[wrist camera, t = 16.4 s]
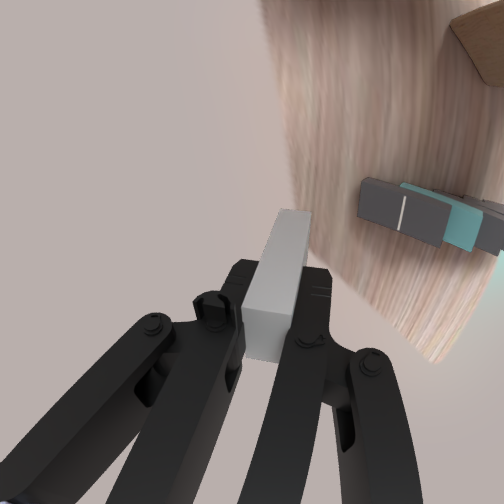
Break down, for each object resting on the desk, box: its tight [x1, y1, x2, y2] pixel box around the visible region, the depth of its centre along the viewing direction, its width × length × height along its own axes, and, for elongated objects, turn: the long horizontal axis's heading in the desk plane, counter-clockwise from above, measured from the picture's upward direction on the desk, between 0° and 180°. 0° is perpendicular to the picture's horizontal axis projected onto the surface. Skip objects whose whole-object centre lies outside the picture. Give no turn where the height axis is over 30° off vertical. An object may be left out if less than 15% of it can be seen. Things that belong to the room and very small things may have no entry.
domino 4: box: [463, 195, 504, 251], centre depth 27 cm, size 5×2×12 cm
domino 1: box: [357, 177, 452, 248], centre depth 31 cm, size 5×2×12 cm
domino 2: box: [399, 182, 483, 252], centre depth 30 cm, size 5×2×12 cm
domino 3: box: [433, 189, 504, 257], centre depth 29 cm, size 5×2×12 cm
